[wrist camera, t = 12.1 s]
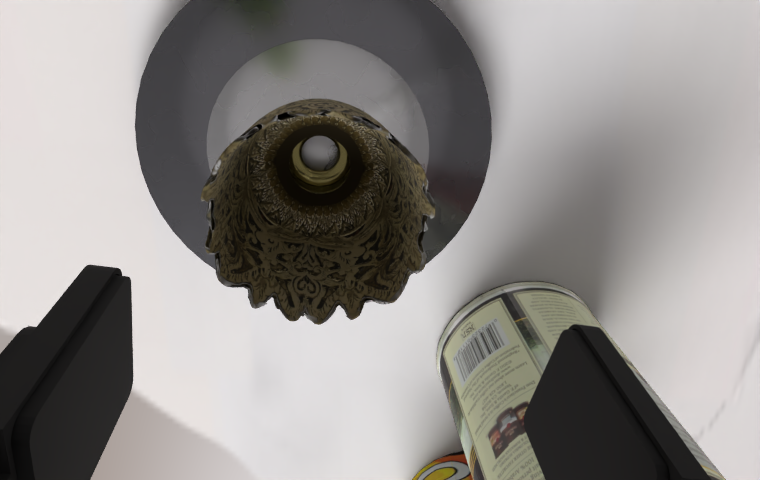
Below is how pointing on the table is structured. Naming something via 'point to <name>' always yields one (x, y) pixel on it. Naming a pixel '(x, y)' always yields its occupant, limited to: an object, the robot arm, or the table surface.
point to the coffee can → (514, 374)
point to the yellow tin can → (446, 468)
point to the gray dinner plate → (311, 96)
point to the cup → (317, 212)
